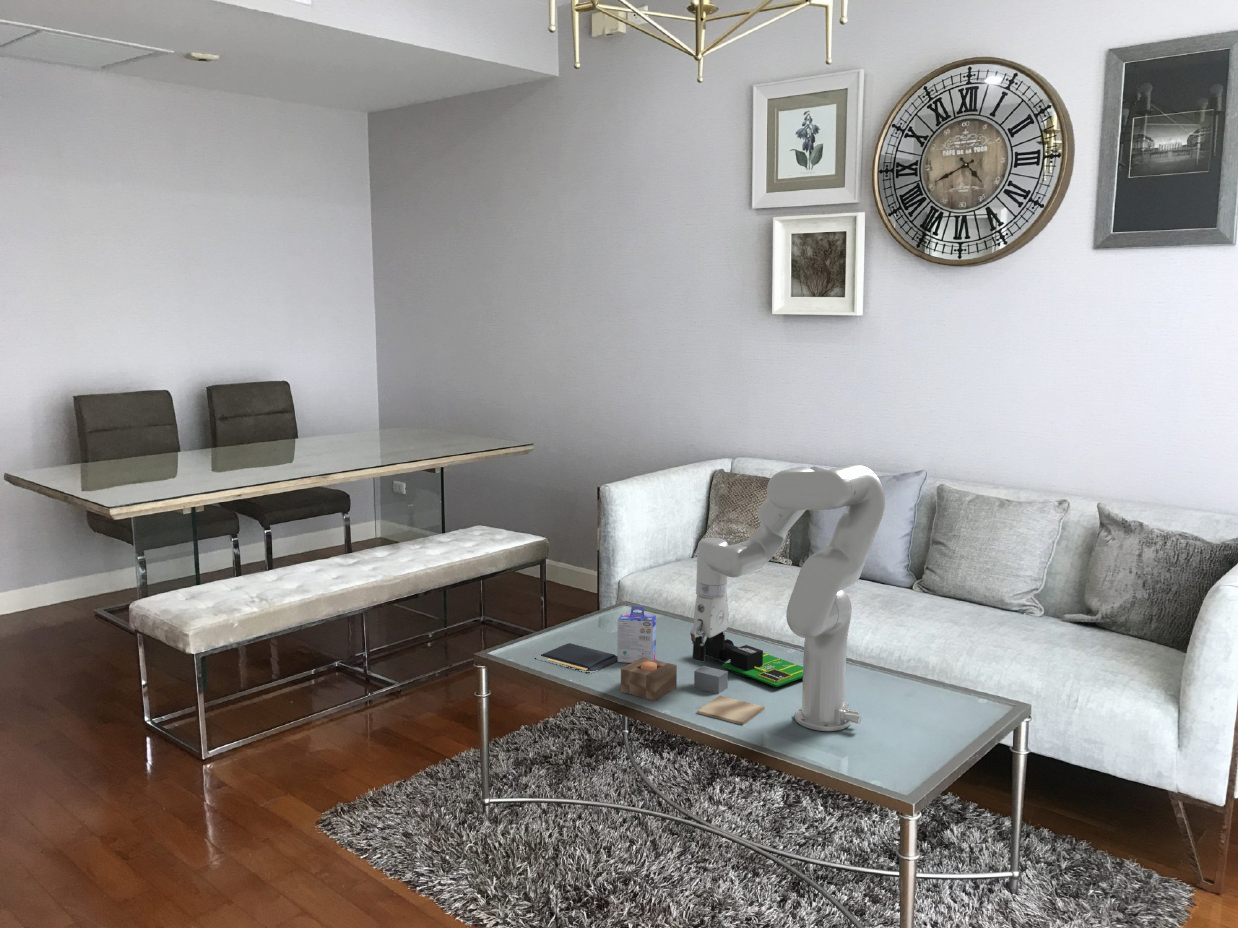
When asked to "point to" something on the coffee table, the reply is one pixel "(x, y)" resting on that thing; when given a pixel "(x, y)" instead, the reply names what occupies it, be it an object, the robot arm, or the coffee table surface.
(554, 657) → the wallet
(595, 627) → the coffee table surface
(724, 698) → the oak board
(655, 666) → the orange ball
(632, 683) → the walnut housing
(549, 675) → the coffee table surface
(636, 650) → the ink cartridge box
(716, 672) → the gray rectangular block
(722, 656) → the circuit board with cylinder
